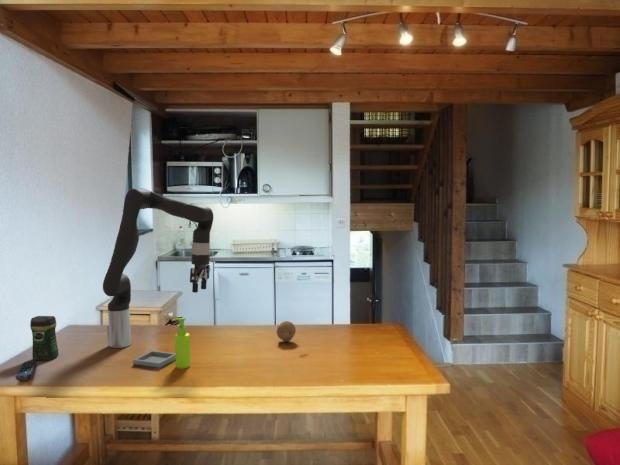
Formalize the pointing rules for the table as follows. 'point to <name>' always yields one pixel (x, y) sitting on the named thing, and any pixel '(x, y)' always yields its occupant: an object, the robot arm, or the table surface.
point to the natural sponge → (286, 331)
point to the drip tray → (155, 359)
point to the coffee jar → (44, 338)
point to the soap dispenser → (182, 345)
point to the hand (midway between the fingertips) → (199, 290)
